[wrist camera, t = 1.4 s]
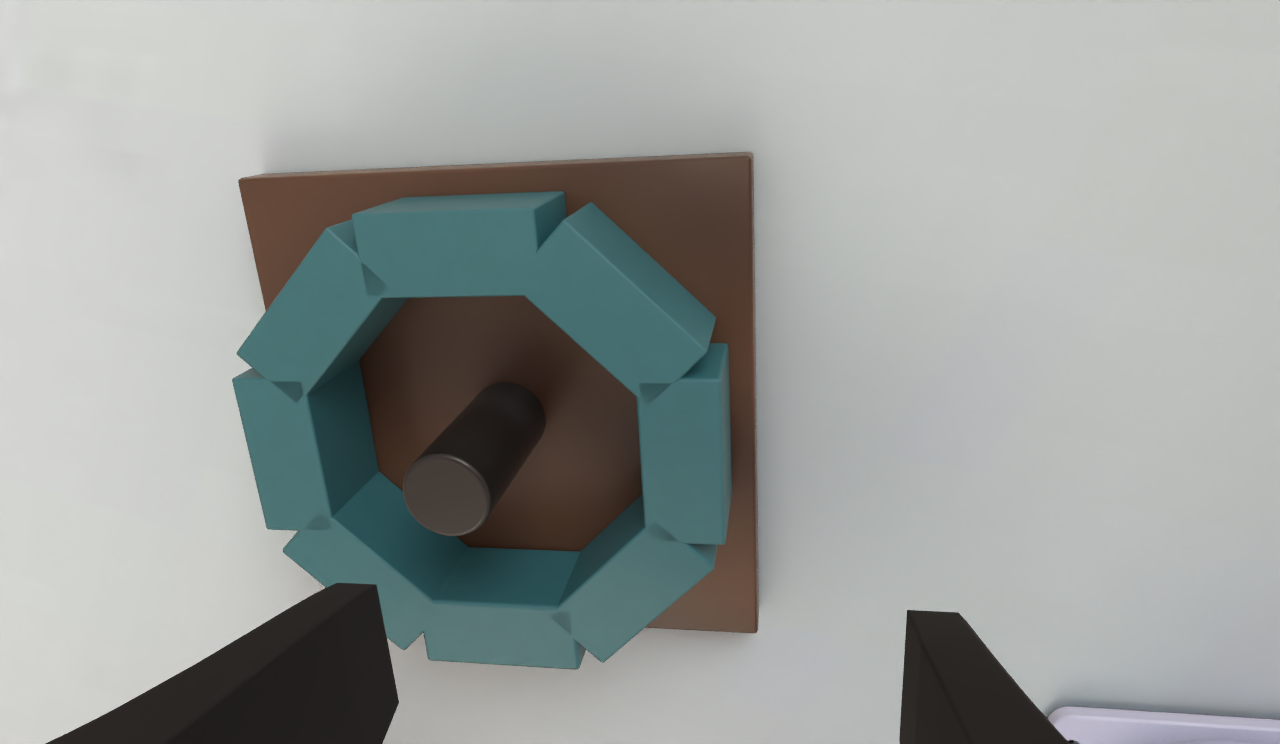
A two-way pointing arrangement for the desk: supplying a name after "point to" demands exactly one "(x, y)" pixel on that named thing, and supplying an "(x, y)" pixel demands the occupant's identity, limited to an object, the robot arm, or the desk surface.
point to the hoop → (375, 507)
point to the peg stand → (541, 360)
